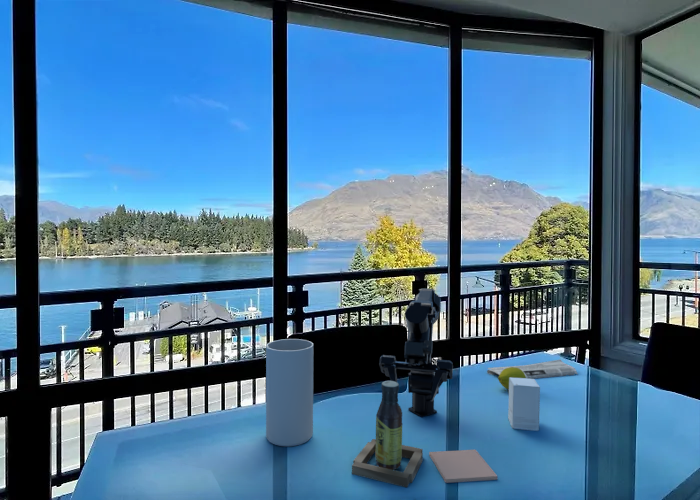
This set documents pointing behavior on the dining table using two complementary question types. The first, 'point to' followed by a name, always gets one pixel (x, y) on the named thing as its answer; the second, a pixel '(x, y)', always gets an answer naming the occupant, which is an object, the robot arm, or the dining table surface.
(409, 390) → the robot arm
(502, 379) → the lemon
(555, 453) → the dining table surface
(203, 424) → the dining table surface
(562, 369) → the newspaper
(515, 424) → the supplement box
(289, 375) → the cylinder vase
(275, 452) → the dining table surface
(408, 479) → the bottle holder
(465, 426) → the dining table surface
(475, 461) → the tile
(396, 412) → the sauce bottle
